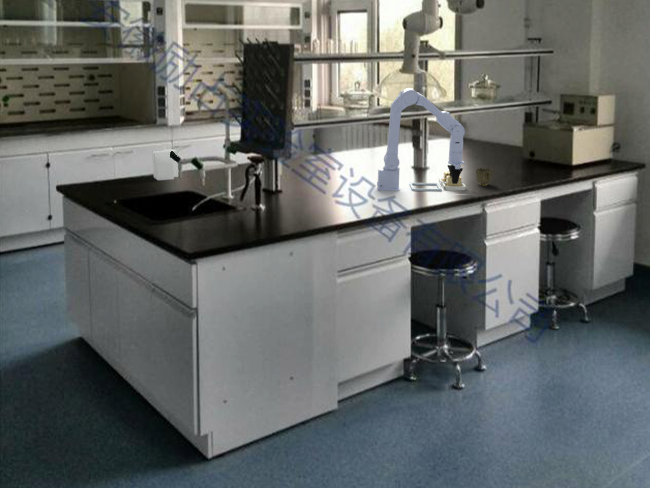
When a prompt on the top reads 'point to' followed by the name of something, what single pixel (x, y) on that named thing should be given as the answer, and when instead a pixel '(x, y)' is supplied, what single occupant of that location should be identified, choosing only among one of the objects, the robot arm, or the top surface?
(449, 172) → the billet
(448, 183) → the billet
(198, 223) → the top surface
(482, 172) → the cup
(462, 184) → the grey rectangular tray
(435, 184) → the tote
